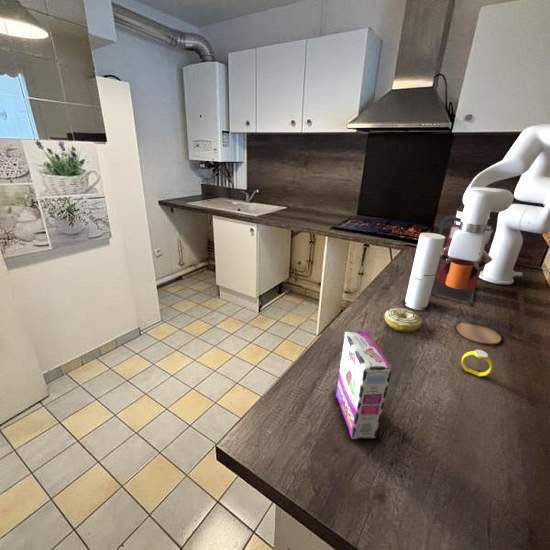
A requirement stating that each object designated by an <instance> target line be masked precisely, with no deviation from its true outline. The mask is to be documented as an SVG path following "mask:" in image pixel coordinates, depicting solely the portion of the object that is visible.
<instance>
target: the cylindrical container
mask: <svg viewBox="0 0 550 550" xmlns="http://www.w3.org/2000/svg"><path fill="white" fill-rule="evenodd" d="M445 240H446V236H445V235H443V234H442V235H439V234H438V233H434V232H421V233H419V237H418V242H417V246H416V251H415V254H414V260H413V264H412V269H411V274H410V277H409V282H408V287H407V290H406V295H405V303H404V305H405V306H406V307H407V308H410V309H412V310H417V311H425V310H426V308H427V307H428V305H429V302H430V298H431V294H432V291H433V286H434V283H435V279H436V274H437V271H438V267H439V262H440V259H441V251H442V248H444V246H443V244H444V242H445Z"/></svg>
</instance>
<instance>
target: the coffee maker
mask: <svg viewBox="0 0 550 550" xmlns="http://www.w3.org/2000/svg"><path fill="white" fill-rule="evenodd" d="M459 226H460V225H456V224H454V223H452V224H451V226H450V231H449V234H448V238H447V241H446V243H447V245H446V246H445V247H447V246H449V245H450V244H451V241H452V238H453V235H454V233H455V231H456V229H459ZM484 232H486V242H485V247H484V251H485V252H486V253H487V252H488V250H489V247H490V243H491V240H492V237H493V234H494V229H493V228H491V229H490V230H486V231H484ZM448 252H449V250H448V251H445V252H444V253H445V254H446V256H447V257H449V256H448ZM487 254H488V253H487ZM454 259H456V258H453V259H452V260H454ZM461 260H462V259H461ZM484 260H485V258H484V257H483V256H482V258H481V260H480V261H479V263H480V262H482V261H484ZM466 261H468V260H466ZM450 262H451V261H450ZM469 262H472V263H473V261H469ZM445 264H446V263H445V261H444V259H443V258H442V261H441V265H440V269H439V271H438V275H437V279H436V280H437V281H436V283H435V285H434V287H433V288H432V290H431V294H434V295H438V296H443V297H446V298H450V299H454V300H458V301H462V302H465V303H470V304H473V300H474V295H475V290H476V287H477V284H478V281H479V279H480V278H479V275H480V272H481V271H482V269H483V266H482V267H480V268H479V269H478V270H477V273H476V277H475V276H473V279H471V278H470V281H469V284H468V287H467V289H455V288H451V287H449V286H447V285H446V284H445V282H446V278H447V274H445V273H446V271H445V270H444V268H445ZM473 264H474V263H473Z"/></svg>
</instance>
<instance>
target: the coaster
mask: <svg viewBox="0 0 550 550" xmlns="http://www.w3.org/2000/svg"><path fill="white" fill-rule="evenodd" d="M456 331H457V332H458V333H459V334H460V335H461V336H462V337H464V338H466V339H467V340H469V341H472V342H474V343H478V344H481V345H487V346H494V345H498V344H500V343H501V342H502V337H501V335H500V334H499V333H498V332H497V331H495V330H494V329H492V328H491V327H488V326H486V325H484V324H480V323H477V322H472V321H471V322H470V321H463V322H460V323H458V324H457V325H456Z"/></svg>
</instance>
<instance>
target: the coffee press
mask: <svg viewBox="0 0 550 550" xmlns="http://www.w3.org/2000/svg"><path fill="white" fill-rule="evenodd" d="M464 207H465V205H464V204H463V203H462V204H461V205H459V206H458V207H457V208H456V214H455V215H454V214H449V215H446V216H444V217H443V218H442V220H441V222H440V226H439V230H438V233H437V234H439V235H443V233H444V230H445V226H446V223H447V221H448V220H451V219H452V220H453V219H454V223H453V224H456V225H460V222H461V218H462V214H463V211H464ZM490 219H491V218H490V216H489V218H488V220H490ZM446 245H447V242H445V241H444V244H443V247H446Z"/></svg>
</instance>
